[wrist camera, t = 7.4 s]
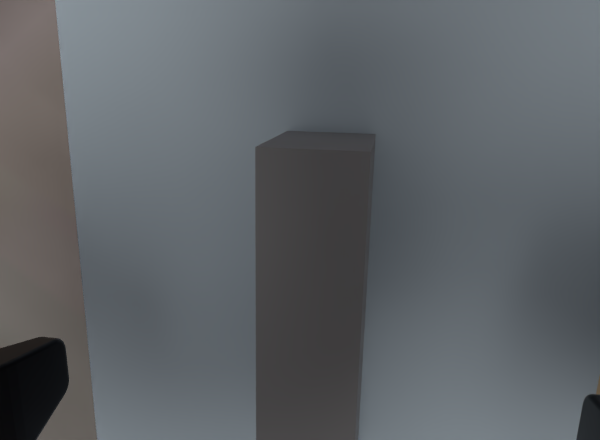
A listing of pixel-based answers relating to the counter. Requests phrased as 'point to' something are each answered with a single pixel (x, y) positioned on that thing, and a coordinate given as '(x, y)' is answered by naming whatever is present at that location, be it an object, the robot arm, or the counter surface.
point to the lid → (336, 216)
